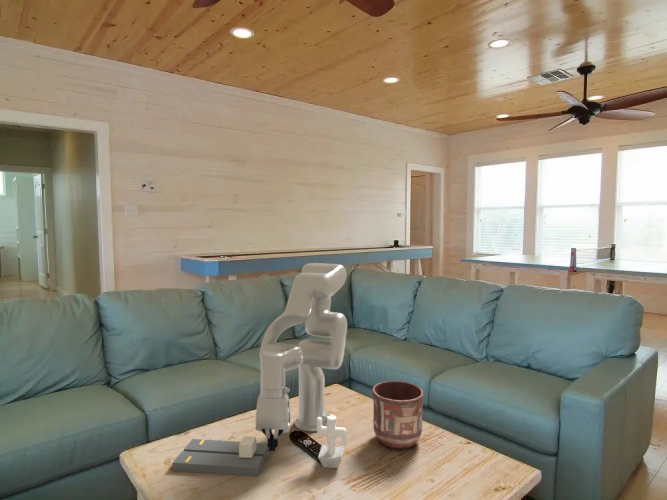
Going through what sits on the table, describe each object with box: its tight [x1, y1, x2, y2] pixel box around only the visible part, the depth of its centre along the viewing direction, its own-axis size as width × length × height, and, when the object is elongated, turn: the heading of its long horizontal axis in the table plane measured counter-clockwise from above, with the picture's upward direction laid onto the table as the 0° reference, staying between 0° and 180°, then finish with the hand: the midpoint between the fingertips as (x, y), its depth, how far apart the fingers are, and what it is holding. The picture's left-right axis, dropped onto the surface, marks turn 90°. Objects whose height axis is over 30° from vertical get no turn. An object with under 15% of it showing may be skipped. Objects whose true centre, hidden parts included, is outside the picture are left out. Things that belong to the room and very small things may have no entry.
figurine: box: [316, 414, 348, 469], centre depth 129 cm, size 7×9×15 cm
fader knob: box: [239, 436, 257, 458], centre depth 130 cm, size 4×5×5 cm
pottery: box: [371, 380, 425, 450], centre depth 143 cm, size 18×18×18 cm
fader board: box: [171, 438, 270, 477], centre depth 131 cm, size 26×14×3 cm, turn 85°
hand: (272, 449), depth 129 cm, fingers closed
